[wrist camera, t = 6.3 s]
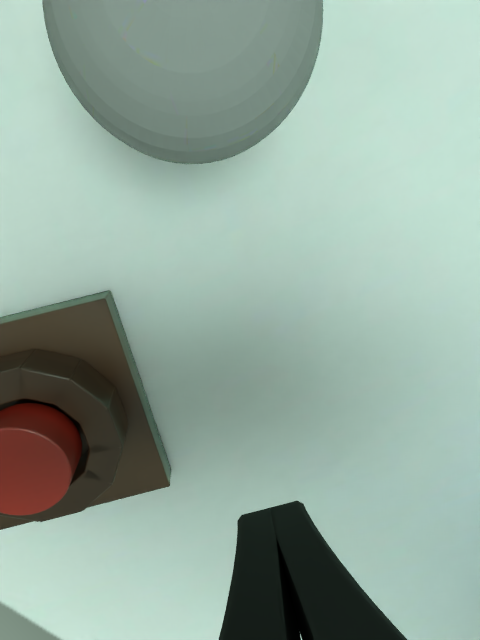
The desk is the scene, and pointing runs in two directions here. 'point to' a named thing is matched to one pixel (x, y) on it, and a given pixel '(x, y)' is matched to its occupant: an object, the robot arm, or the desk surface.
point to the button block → (84, 398)
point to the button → (35, 457)
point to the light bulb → (186, 69)
